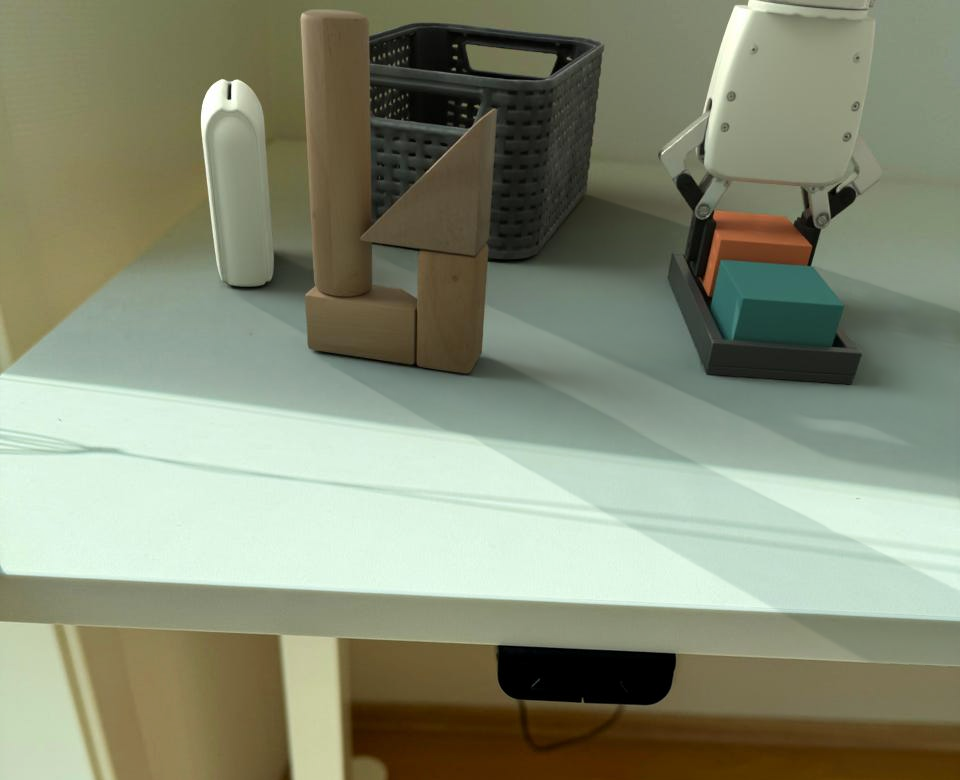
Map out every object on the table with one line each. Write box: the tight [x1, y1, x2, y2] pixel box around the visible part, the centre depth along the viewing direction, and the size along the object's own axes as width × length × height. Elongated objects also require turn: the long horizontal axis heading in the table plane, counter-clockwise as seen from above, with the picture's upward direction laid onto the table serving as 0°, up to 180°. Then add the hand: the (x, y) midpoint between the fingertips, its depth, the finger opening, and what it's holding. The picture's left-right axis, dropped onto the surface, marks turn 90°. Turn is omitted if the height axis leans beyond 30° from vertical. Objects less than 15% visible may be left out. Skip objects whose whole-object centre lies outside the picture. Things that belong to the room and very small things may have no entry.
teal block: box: [710, 260, 845, 347], centre depth 62 cm, size 6×8×4 cm
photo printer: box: [200, 78, 275, 288], centre depth 67 cm, size 10×4×12 cm, turn 11°
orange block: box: [699, 210, 812, 297], centre depth 69 cm, size 6×8×4 cm
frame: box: [666, 251, 863, 385], centre depth 67 cm, size 20×10×2 cm, turn 178°
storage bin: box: [369, 21, 605, 261], centre depth 83 cm, size 29×19×13 cm
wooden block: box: [300, 8, 497, 375], centre depth 54 cm, size 4×11×18 cm, turn 77°
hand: (744, 273), depth 69 cm, fingers closed on orange block, 6 cm apart
